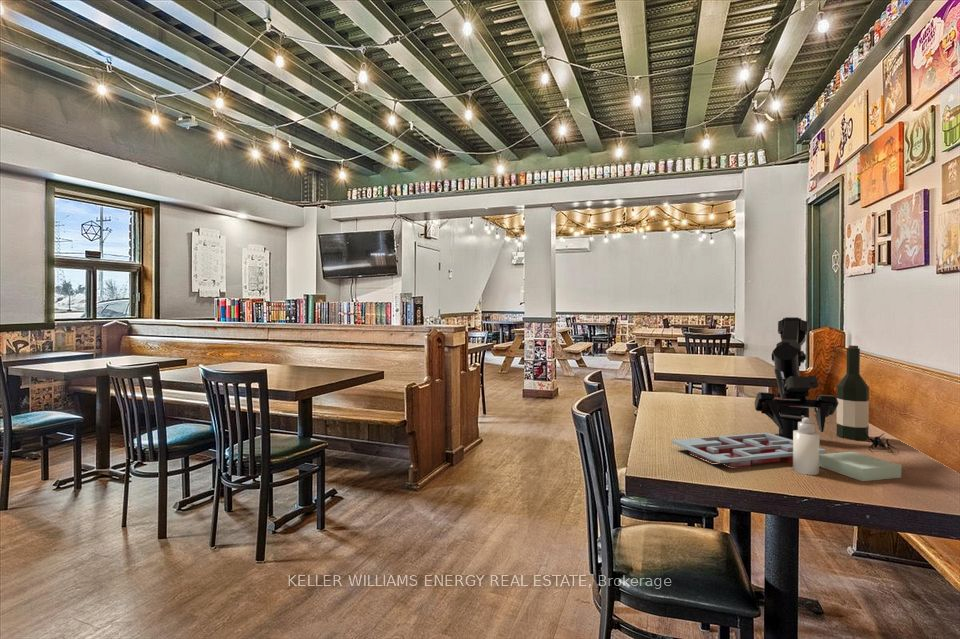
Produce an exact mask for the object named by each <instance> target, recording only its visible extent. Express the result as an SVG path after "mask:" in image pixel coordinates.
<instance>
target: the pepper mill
mask: <svg viewBox="0 0 960 639" xmlns="http://www.w3.org/2000/svg"><path fill="white" fill-rule="evenodd" d="M803 417H804V416H803ZM815 430H816V424H815V423H813V422H812V419H811V418H810V417H809V418H807V417H804V418H803V419H802V422H798V430H795V431H793V462H792V471H793V472H795V471H796V472H795V473H798V474H801V473H802V475H806V474H808V475H807V476H818V475H820V466H819V454H820V453H819V448H820V436H821V435H820V433H819V432H815ZM817 474H818V475H817Z"/></svg>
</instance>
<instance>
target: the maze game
mask: <svg viewBox="0 0 960 639" xmlns="http://www.w3.org/2000/svg"><path fill="white" fill-rule="evenodd" d="M670 441H671V444H673V445H675V446H677V447H680V448H683V449H686V450H687V451H689V455H690V454H692V455H694V456H697V457H699V458H702V459H704V460H707V461H709V462H711V463H723V464H725V465H727V466H730V467H740V468H742V467H741V466H749V467H751V466H752V465H751V464H755V465H762V464H761V463H764V464H772V463H771V462H773V463H779V462H780V463H781V461H783V460H784V462H786V461H787V462H786V463H793V440H791V439H787V438H784V437H780V436H777V435H775V433H774V434H773V433H770V432H766V431H765V432H756V433H754V432H753V433H743V434H742V433H741V434H732V435H731V434H730V435H729V434H728V435H719V436H707V437H705V436H704V437H696V438H693V437H692V438H684V439H683V438H682V439H671V440H670ZM819 454H827V453H826V449H824V448H821V447H819ZM723 464H722V465H723Z"/></svg>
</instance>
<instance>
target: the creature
mask: <svg viewBox="0 0 960 639" xmlns="http://www.w3.org/2000/svg"><path fill="white" fill-rule="evenodd" d="M864 434H865V433H864ZM865 435H866V436H867V437H868V440H869V442H870V443H872V444H871V445H870V446H869V447H868V450H869V451H870V452H871V453H873V451H872V449H873V450H874V447H875V448H877V447H880V448H881V449H882V450H883V449H884V451H886V450H888V451H890V452H891V453H892V454H893V453H894V451H893V450H892V449H895V450H897V448H896V447H894V446H892V445H891V444H890V443H889V441H890V439H889V438H886V439H885V442H886V443H884V441H883V440H884V438H885V436H884V437H882V436H883V435H885V432H884V433H882V434H880V436H874V437H873V438H871V436H869V434H868V435H867V434H865ZM881 437H882V438H881ZM886 446H887V447H886ZM897 451H898V454H899V452H900V451H899V450H897ZM890 452H888V453H889V454H890Z"/></svg>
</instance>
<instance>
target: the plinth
mask: <svg viewBox="0 0 960 639" xmlns="http://www.w3.org/2000/svg"><path fill="white" fill-rule="evenodd" d="M820 466H821V468H823V469H826V470H829V471H832V472H835V473H838V474H840V475H843V476H846V477H849V478H851V479H852V478H853V479H855V480H857V481H860V482H869V481H878V480H889V479H890V480H891V479H900V478H902V465H901V464H897V463H894V462H891V461H887V460H884V459H881V458H878V457H873V456H871V455H870V456H869V455H867V454H863V453H859V452H858V451H857V452H856V451H846V452H845V451H844V452H832V453H819V467H820Z"/></svg>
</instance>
